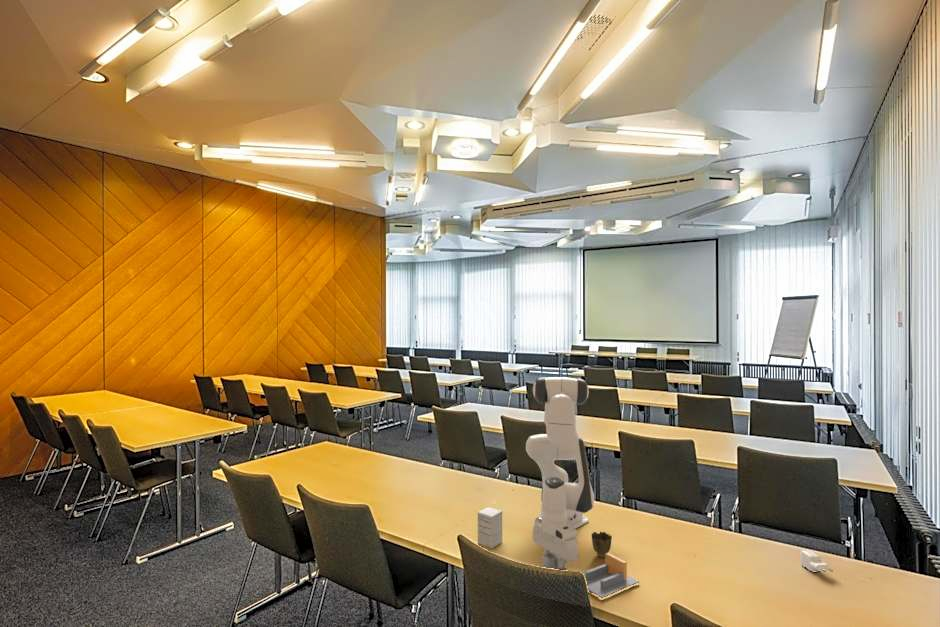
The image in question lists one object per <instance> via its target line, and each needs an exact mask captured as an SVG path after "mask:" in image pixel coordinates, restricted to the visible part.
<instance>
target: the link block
mask: <svg viewBox="0 0 940 627" xmlns="http://www.w3.org/2000/svg"><path fill="white" fill-rule="evenodd" d="M550 552H551V551H550ZM541 556H542V561H541V562H542V566H541V567H546V568H554V569H560V570H562V569H566V568H567V561H566V560H563V562H562V567H560V568H558V567H557V566H556V561H558V560H559V559H558V556H557V555H556V554H554V553H552V552H551V553H548V554H545V553H544V554H543V555H541Z"/></svg>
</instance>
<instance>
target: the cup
mask: <svg viewBox="0 0 940 627" xmlns="http://www.w3.org/2000/svg"><path fill="white" fill-rule="evenodd" d="M612 538H613V536H612V535H611V534H609V533H607V532H606V531H603V532H602V531H599V533H597V531H593V532H592V533H591V543H592V548H593V550H594V552H596V556H597V557H598V558H600V557H602V558H601V559H605V558H606V553H610V550H611V548H612V546H611V545H612ZM604 557H605V558H604Z"/></svg>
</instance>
